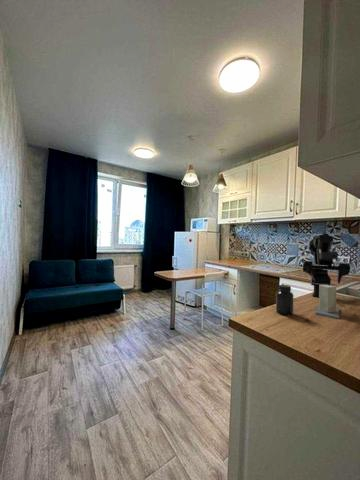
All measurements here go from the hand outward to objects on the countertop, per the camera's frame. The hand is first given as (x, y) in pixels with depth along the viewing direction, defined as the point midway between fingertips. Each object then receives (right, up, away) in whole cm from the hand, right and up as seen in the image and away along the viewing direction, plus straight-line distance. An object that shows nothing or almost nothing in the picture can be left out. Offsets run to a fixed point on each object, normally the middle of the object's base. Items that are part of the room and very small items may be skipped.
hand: (326, 282), depth 96 cm
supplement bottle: (-22, -13, -5) cm, 26 cm away
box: (-2, -12, -4) cm, 13 cm away
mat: (-2, -13, -3) cm, 13 cm away
